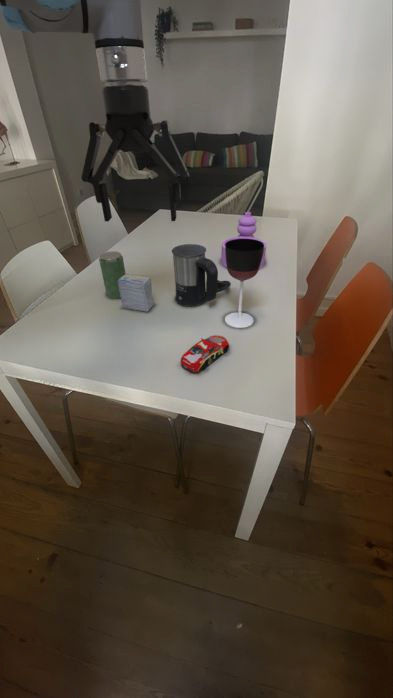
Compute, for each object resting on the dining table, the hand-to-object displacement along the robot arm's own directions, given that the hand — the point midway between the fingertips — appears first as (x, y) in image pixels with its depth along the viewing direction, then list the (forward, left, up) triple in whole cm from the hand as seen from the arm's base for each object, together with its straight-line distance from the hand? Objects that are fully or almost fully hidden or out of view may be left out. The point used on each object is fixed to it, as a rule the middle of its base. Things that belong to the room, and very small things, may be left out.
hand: (141, 219), depth 65 cm
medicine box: (-6, +10, -27) cm, 29 cm away
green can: (-14, +18, -27) cm, 35 cm away
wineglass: (+22, +4, -27) cm, 35 cm away
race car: (+14, -12, -27) cm, 32 cm away
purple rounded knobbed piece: (+26, +47, -27) cm, 60 cm away
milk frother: (+12, +17, -27) cm, 34 cm away
